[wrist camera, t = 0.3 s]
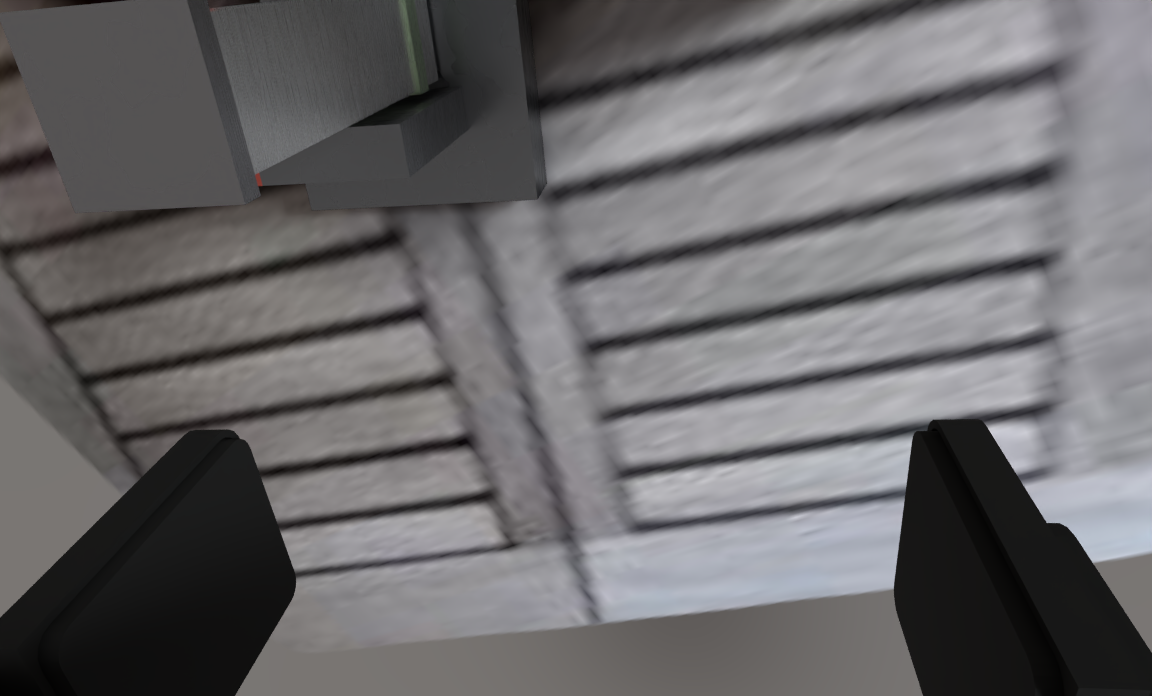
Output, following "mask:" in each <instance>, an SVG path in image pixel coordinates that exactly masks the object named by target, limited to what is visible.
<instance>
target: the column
mask: <svg viewBox="0 0 1152 696" xmlns="http://www.w3.org/2000/svg"><path fill="white" fill-rule="evenodd" d="M0 22H1V24H2V27H3V29H4V32H5V35H6V37H7V40H8V42H9V45H10V47H11V50H12V52H13V55H14V58H15V60H16V63H17V65H18V68H19V70H20V73H21V75H22V78H23V81H24V83H25V86H26V88H27V91H28V93H29V96H30V99H31V101H32V104H33V106H34V109H35V111H36V114H37V116H38V119H39V122H40V124H41V127H42V129H43V132H44V134H45V137H46V140H47V142H48V145H49V147H50V150H51V152H52V155H53V157H54V160H55V163H56V165H57V168H58V170H59V173H60V175H61V178H62V181H63V183H64V186H65V188H66V191H67V193H68V196H69V198H70V201H71V204H72V206H73V209H74V211H75V213H87V212H107V211H127V210H147V209H167V208H187V207H207V206H227V205H245V204H247V203H249V202H251V201H252V200H254V199H256V198H258V197H259V196H261V195H260V191H259V187H258V184H257V180H256V176H255V175H256V174H257V173H259V172H261V171H263V170H265V169H267V168H269V167H271V166H273V165H275V164H277V163H279V162H281V161H283V160H285V159H287V158H288V157H290V156H292V155H294V154H296V153H298V152H300V151H302V150H304V149H306V148H308V147H310V146H312V145H314V144H316V143H318V142H319V141H321V140H323V139H325V138H327V137H329V136H331V135H333V134H335V133H337V132H339V131H341V130H343V129H345V128H347V127H348V126H350V125H352V124H354V123H356V122H358V121H360V120H362V119H364V118H366V117H368V116H370V115H372V114H374V113H376V112H378V111H379V110H381V109H383V108H385V107H387V106H389V105H391V104H393V103H395V102H397V101H399V100H401V99H403V98H405V97H407V96H409V95H421V94H423V93H425V92H427V91H428V90H429V87H428V85H430V84H432V83H434V82H436V81H438V80H439V79H438V73H437V66H436V60H435V53H434V47H433V41H432V34H431V28H430V22H429V15H428V9H427V3H426V0H277V1H269V2H260V3H251V4H243V5H234V6H225V7H217V8H209V5H208V2H207V0H129V1H119V2H109V3H98V4H88V5H77V6H67V7H56V8H46V9H35V10H25V11H14V12H4V13H0Z"/></svg>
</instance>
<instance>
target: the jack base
mask: <svg viewBox="0 0 1152 696" xmlns="http://www.w3.org/2000/svg"><path fill="white" fill-rule="evenodd" d="M269 1H277V0H260V2H269ZM426 3H427V9H428V15H429V22H430V28H431V34H432V41H433V47H434V53H435V60H436V66H437V73H438V79H439V80H438V81H436V82H434V83H432V84H430V85H428V87H429V90H428V91H427V92H425V93H423V94H421V95H409V96H407V97H405V98H403V99H401V100H399V101H397V102H395V103H393V104H391V105H389V106H387V107H385V108H383V109H381V110H379V111H378V112H376V113H374V114H372V115H370V116H368V117H366V118H364V119H362V120H360V121H358V122H356V123H354V124H352V125H350V126H348V127H347V128H345V129H343V130H341V131H339V132H337V133H335V134H333V135H331V136H329V137H327V138H325V139H323V140H321V141H319V142H318V143H316V144H314V145H312V146H310V147H308V148H306V149H304V150H302V151H300V152H298V153H296V154H294V155H292V156H290V157H288V158H287V159H285V160H283V161H281V162H279V163H277V164H275V165H273V166H271V167H269V168H267V169H265V170H263V171H261V172H259V173H257V174H256V175H255V176H256V180H257V184H258V186H269V185H288V184H305V185H306V189H307V193H308V197H309V202H310V206H311V210H331V209H351V208H372V207H393V206H414V205H434V204H455V203H476V202H497V201H517V200H537V199H538V198H539V196H540V194H541V193H542V191H543V189H544V188H545V186H546V184H547V180H546V170H545V160H544V150H543V140H542V131H541V121H540V111H539V101H538V92H537V82H536V72H535V62H534V53H533V43H532V33H531V23H530V13H529V4H528V0H426Z"/></svg>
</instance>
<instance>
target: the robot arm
mask: <svg viewBox="0 0 1152 696" xmlns="http://www.w3.org/2000/svg"><path fill="white" fill-rule="evenodd" d="M295 588H296V576H295V572H294V569H293V566H292V564H291V561H290V558H289V555H288V552H287V549H286V547H285V544H284V541H283V538H282V535H281V533H280V530H279V527H278V524H277V521H276V519H275V516H274V513H273V510H272V507H271V505H270V502H269V499H268V496H267V493H266V491H265V488H264V485H263V482H262V479H261V477H260V474H259V471H258V468H257V465H256V463H255V460H254V457H253V454H252V451H251V449H250V447H249V445H248V443H247V442H246V441H245V440H242V439H240V438H239V436H238V435H237V434H236V433H235V432H234V431H231V430H193V431H189V432H188V433H187V434H185V435H184V436H183V437H182V438H181V439H180V440H179V441H178V442H177V443H176V444H175V445H174V446H173V447H172V448H171V449H170V450H169V451H168V452H167V453H166V454H165V455H164V456H163V457H162V458H161V459H160V460H159V461H158V462H157V463H156V464H155V465H154V466H153V467H152V468H151V469H150V470H149V471H148V472H147V473H146V474H145V475H144V476H143V477H142V478H141V479H140V480H139V481H138V482H137V483H136V484H135V485H134V486H133V487H132V488H131V489H130V490H129V491H127V492H126V493H125V494H124V495H123V496H122V497H121V498H120V499H119V500H118V502H116V503H115V504H114V506H112V507H111V508H110V509H109V510H108V511H107V512H106V513H105V514H104V515H103V516H102V517H101V518H100V519H99V520H98V521H97V522H96V523H95V524H94V525H93V526H92V527H91V528H90V529H89V530H88V531H87V532H86V533H85V534H84V535H83V536H82V537H81V538H80V539H79V540H78V541H77V542H76V543H75V544H74V545H73V546H72V547H71V548H70V549H69V550H68V551H67V552H66V553H65V554H64V555H63V556H62V557H61V558H60V559H59V560H58V561H57V562H56V563H55V564H54V565H53V566H52V567H51V568H50V569H49V570H48V571H47V572H46V573H45V574H44V575H43V576H42V577H41V578H40V579H39V580H38V581H37V582H36V583H35V584H34V585H33V586H32V587H31V588H30V589H29V590H28V591H27V592H26V593H25V594H24V595H23V596H22V597H21V598H20V599H19V600H18V601H17V602H16V603H15V604H14V605H13V606H12V607H11V608H10V609H9V610H8V611H7V612H6V613H5V614H4V615H2V617H1V618H0V696H235V695H236V693H237V691H238V689H239V688H240V686H241V685H242V683H243V681H244V679H245V678H246V676H247V674H248V673H249V671H250V669H251V668H252V666H253V664H254V663H255V661H256V659H257V657H258V656H259V654H260V653H261V651H262V649H263V647H264V646H265V644H266V642H267V641H268V639H269V637H270V636H271V634H272V632H273V631H274V629H275V627H276V626H277V624H278V622H279V621H280V619H281V617H282V615H283V614H284V612H285V610H286V609H287V607H288V605H289V604H290V602H291V600H292V598H293V596H294V592H295ZM894 598H895V606H896V611H897V614H898V618H899V621H900V624H901V627H902V631H903V634H904V637H905V640H906V643H907V646H908V650H909V652H910V656H911V659H912V662H913V665H914V668H915V671H916V675H917V678H918V681H919V684H920V687H921V690H922V694H923V696H1152V653H1151V651H1150V649H1149V648H1148V647H1147V645H1146V643H1145V642H1144V641H1143V639H1142V637H1141V636H1140V634H1139V633H1138V631H1137V630H1136V628H1135V627H1134V625H1133V624H1132V622H1131V621H1130V619H1129V617H1128V616H1127V614H1126V613H1125V612H1124V610H1123V608H1122V607H1121V605H1120V604H1119V602H1118V601H1117V599H1116V598H1115V596H1114V595H1113V594H1112V592H1111V590H1110V589H1109V587H1108V586H1107V584H1106V582H1105V581H1104V580H1103V578H1102V576H1101V575H1100V573H1099V572H1098V570H1097V569H1096V567H1095V566H1094V565H1093V563H1092V561H1091V560H1090V558H1089V557H1088V555H1087V554H1086V552H1085V551H1084V549H1083V547H1082V546H1081V544H1080V543H1079V541H1078V540H1077V538H1076V537H1075V536H1074V534H1073V533H1072V532H1071V531H1070V530H1069V529H1068V527H1066V526H1064V525H1062V524H1060V523H1046V521H1045V520H1044V518H1043V516H1042V515H1041V513H1040V511H1039V510H1038V508H1037V507H1036V505H1035V503H1034V502H1033V500H1032V499H1031V497H1030V495H1029V494H1028V492H1027V491H1026V489H1025V487H1024V486H1023V484H1022V483H1021V481H1020V479H1019V478H1018V476H1017V475H1016V473H1015V471H1014V470H1013V468H1012V467H1011V465H1010V463H1009V462H1008V460H1007V459H1006V457H1005V455H1004V454H1003V452H1002V451H1001V449H1000V447H999V446H998V444H997V443H996V441H995V439H994V438H993V436H992V434H991V433H990V431H989V430H988V428H987V426H986V425H985V424H984V423H983V421H982V420H979V419H956V420H933V421H931V422H930V424H929V426H928V430H927V431H917V432H915V434H914V436H913V440H912V447H911V455H910V463H909V471H908V479H907V487H906V495H905V502H904V510H903V518H902V526H901V534H900V542H899V550H898V558H897V566H896V574H895V582H894Z"/></svg>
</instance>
